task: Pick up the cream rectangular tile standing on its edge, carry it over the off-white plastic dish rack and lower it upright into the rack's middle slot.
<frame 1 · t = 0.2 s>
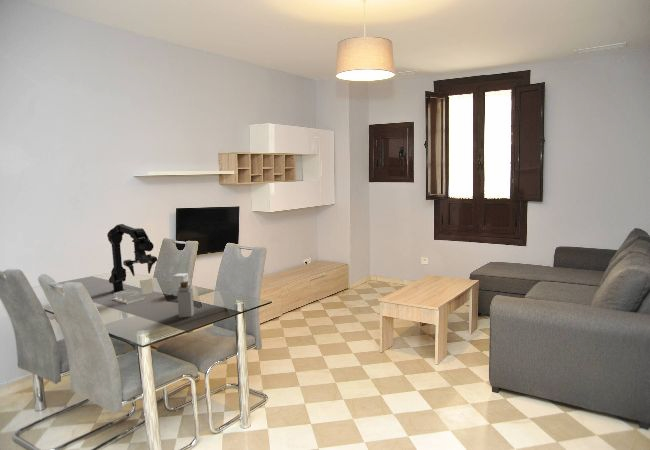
hand: (141, 274, 300), 14 cm above the table, tool pointing down, fingers open, 9 cm apart
perfume bottle: (186, 315, 266), on the table
supplement box: (181, 294, 306), on the table
cream rectangular tile: (147, 293, 311), on the table
rack: (129, 299, 299), on the table
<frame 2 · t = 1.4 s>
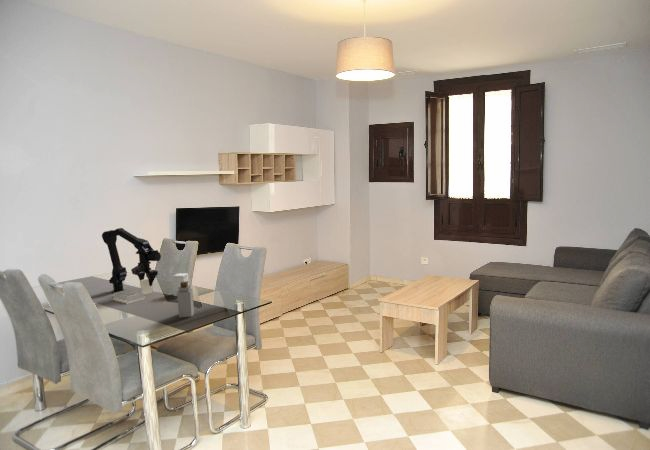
hand: (146, 284, 311), 5 cm above the table, tool pointing down, fingers open, 9 cm apart
nothing on the table moved.
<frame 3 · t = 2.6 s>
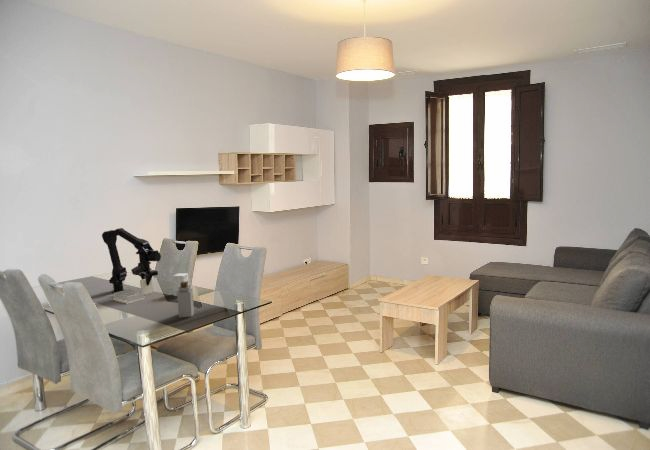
hand: (146, 285, 311), 5 cm above the table, tool pointing down, fingers closed on cream rectangular tile, 2 cm apart
cream rectangular tile: (147, 292, 311), on the table, touching gripper
everything else where it was.
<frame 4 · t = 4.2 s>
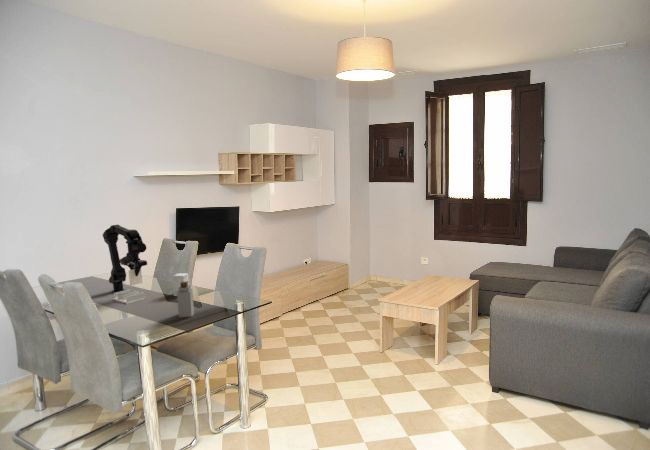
hand: (135, 275, 302), 13 cm above the table, tool pointing down, fingers closed on cream rectangular tile, 2 cm apart
cream rectangular tile: (136, 283, 303), point 8 cm above the table, touching gripper
everything else where it was.
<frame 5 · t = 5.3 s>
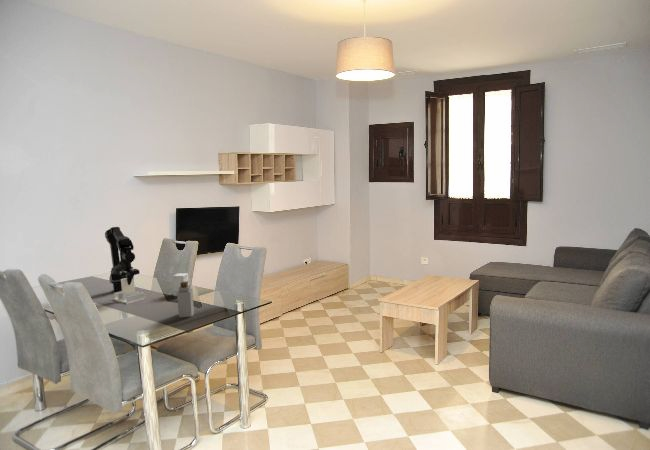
hand: (127, 284, 297), 9 cm above the table, tool pointing down, fingers closed on cream rectangular tile, 2 cm apart
cream rectangular tile: (128, 292, 298), point 4 cm above the table, touching gripper
everything else where it was.
when the fingers open (7 cm above the table, at t = 6.2 s): cream rectangular tile drops 1 cm, resting on rack.
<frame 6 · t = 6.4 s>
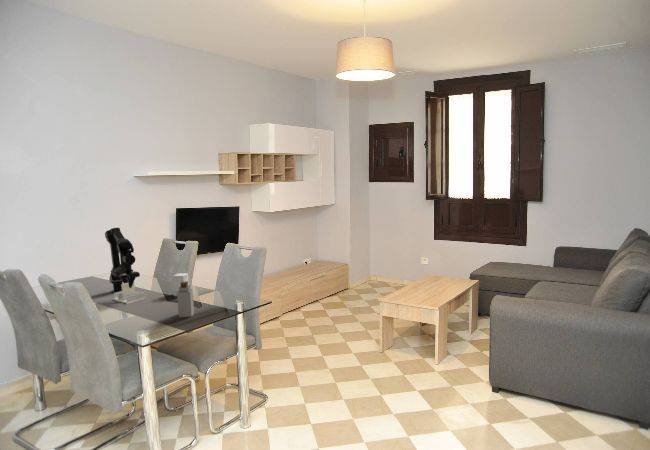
hand: (128, 287, 298), 7 cm above the table, tool pointing down, fingers open, 5 cm apart
cream rectangular tile: (129, 297, 299), point 1 cm above the table, touching rack
everything else where it was.
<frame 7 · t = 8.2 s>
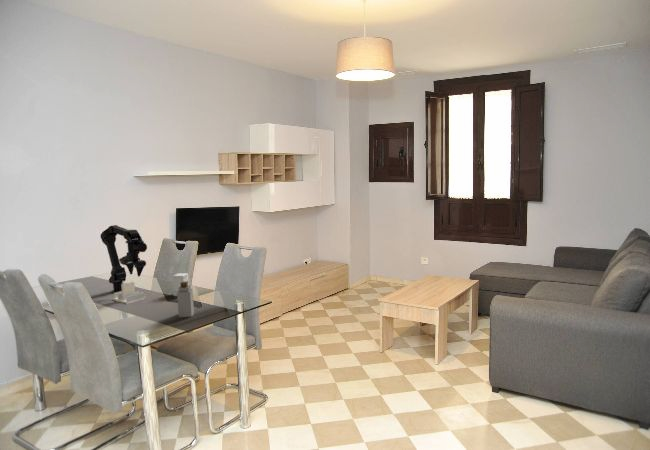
hand: (135, 275, 305), 13 cm above the table, tool pointing down, fingers open, 9 cm apart
nothing on the table moved.
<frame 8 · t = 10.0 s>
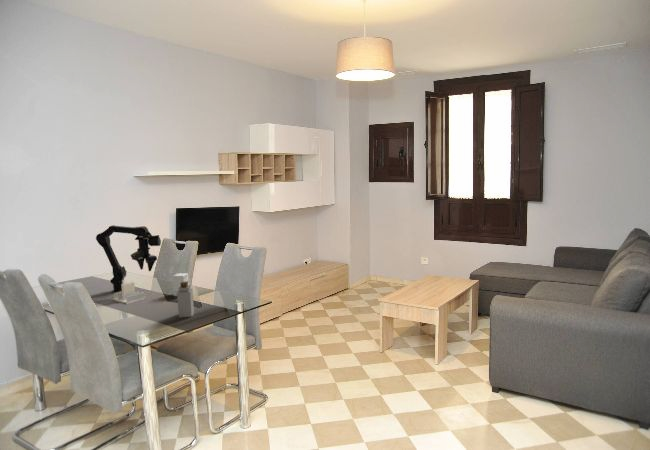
hand: (145, 270, 316), 13 cm above the table, tool pointing down, fingers open, 9 cm apart
nothing on the table moved.
at the end: cream rectangular tile 0.1 cm off-centre on the rack, point 1.0 cm above the rack's base; cream rectangular tile tilted 0°; the gripper is holding nothing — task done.
